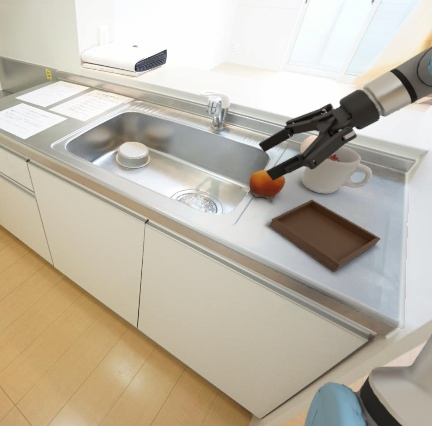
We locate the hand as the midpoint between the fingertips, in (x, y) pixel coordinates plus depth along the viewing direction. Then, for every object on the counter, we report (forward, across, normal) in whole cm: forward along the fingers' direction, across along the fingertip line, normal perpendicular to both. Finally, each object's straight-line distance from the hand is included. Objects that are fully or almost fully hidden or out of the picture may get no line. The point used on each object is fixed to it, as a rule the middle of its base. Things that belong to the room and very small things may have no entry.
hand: (265, 161), depth 69 cm
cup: (-6, +6, -20) cm, 22 cm away
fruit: (+5, 0, -9) cm, 10 cm away
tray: (-2, -14, -16) cm, 21 cm away
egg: (-6, +24, -20) cm, 32 cm away
